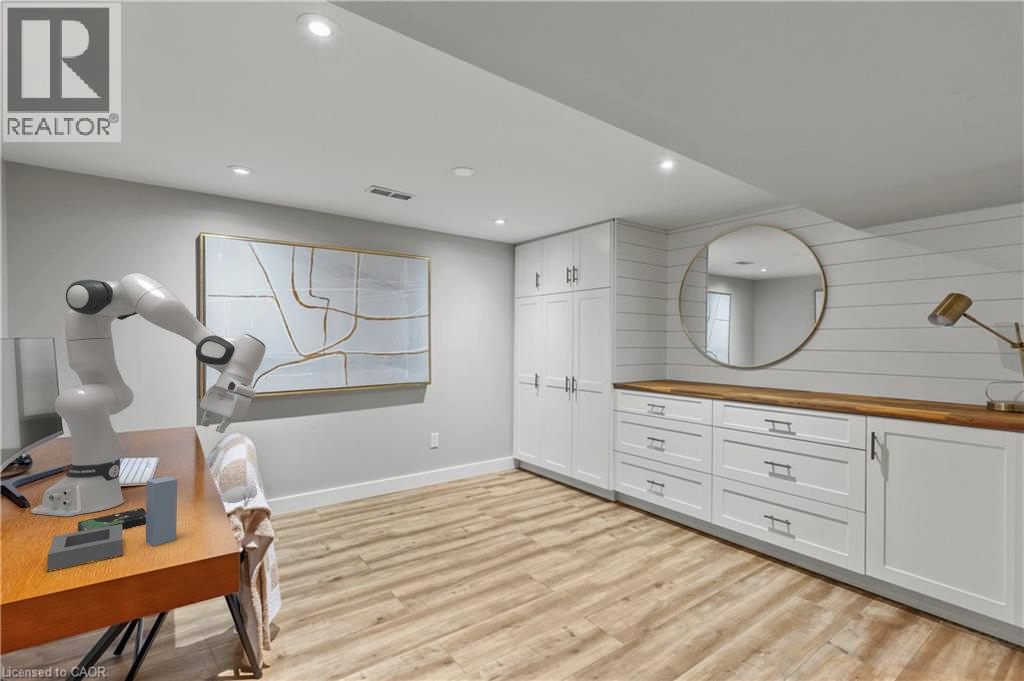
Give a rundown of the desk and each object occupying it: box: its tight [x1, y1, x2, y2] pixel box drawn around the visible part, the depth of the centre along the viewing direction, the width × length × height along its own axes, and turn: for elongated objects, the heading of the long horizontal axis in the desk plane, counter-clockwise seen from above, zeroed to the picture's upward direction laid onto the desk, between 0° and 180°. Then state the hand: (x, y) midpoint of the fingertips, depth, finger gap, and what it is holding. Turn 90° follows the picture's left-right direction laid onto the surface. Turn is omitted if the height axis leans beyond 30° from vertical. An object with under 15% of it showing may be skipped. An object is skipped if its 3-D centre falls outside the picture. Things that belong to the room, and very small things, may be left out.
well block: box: [46, 524, 124, 572], centre depth 115 cm, size 13×13×4 cm
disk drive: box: [77, 507, 146, 532], centre depth 133 cm, size 10×3×15 cm
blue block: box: [145, 475, 178, 547], centre depth 123 cm, size 5×5×16 cm
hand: (211, 429), depth 141 cm, fingers open, 8 cm apart
